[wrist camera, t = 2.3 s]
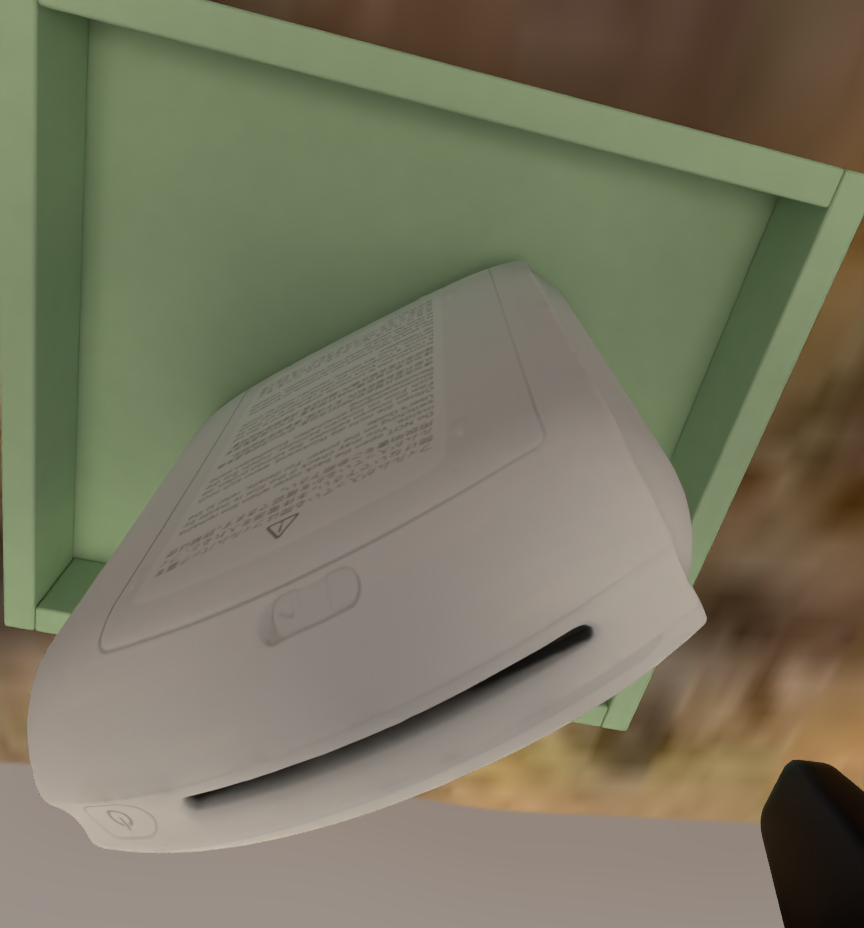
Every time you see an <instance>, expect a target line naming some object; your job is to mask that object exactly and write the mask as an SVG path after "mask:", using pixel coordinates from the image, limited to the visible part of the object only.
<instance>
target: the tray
mask: <svg viewBox="0 0 864 928" xmlns="http://www.w3.org/2000/svg"><path fill="white" fill-rule="evenodd" d="M863 215H864V174H863V173H859V172H856V171H852V170H848V169H842V168H841V167H837V166H833V165H829V164H825V163H822V162H818V161H814V160H810V159H807V158H803V157H799V156H795V155H791V154H788V153H784V152H780V151H776V150H772V149H769V148H765V147H761V146H757V145H754V144H750V143H746V142H742V141H738V140H735V139H731V138H727V137H723V136H719V135H716V134H712V133H708V132H704V131H701V130H697V129H693V128H689V127H685V126H682V125H678V124H674V123H670V122H667V121H663V120H659V119H655V118H651V117H648V116H644V115H640V114H636V113H632V112H629V111H625V110H621V109H617V108H614V107H610V106H606V105H602V104H598V103H595V102H591V101H587V100H583V99H579V98H576V97H572V96H568V95H564V94H561V93H557V92H553V91H549V90H545V89H542V88H538V87H534V86H530V85H526V84H523V83H519V82H515V81H511V80H508V79H504V78H500V77H496V76H492V75H489V74H485V73H481V72H477V71H473V70H470V69H466V68H462V67H458V66H455V65H451V64H447V63H443V62H439V61H436V60H432V59H428V58H424V57H420V56H417V55H413V54H409V53H405V52H402V51H398V50H394V49H390V48H386V47H383V46H379V45H375V44H371V43H368V42H364V41H360V40H356V39H352V38H349V37H345V36H341V35H337V34H333V33H330V32H326V31H322V30H318V29H315V28H311V27H307V26H303V25H299V24H296V23H292V22H288V21H284V20H280V19H277V18H273V17H269V16H265V15H262V14H258V13H254V12H250V11H246V10H243V9H239V8H235V7H231V6H227V5H224V4H220V3H216V2H212V1H209V0H0V392H1V451H2V509H3V567H4V624H5V625H6V626H10V627H16V628H22V629H28V630H34V629H36V630H37V631H40V632H46V633H52V634H58V632H59V631H60V629H61V628H62V627H63V625H64V624H65V622H66V621H67V620H68V618H69V617H70V615H71V614H72V612H73V611H74V609H75V608H76V606H77V605H78V604H79V602H80V601H81V600H82V598H83V597H84V595H85V594H86V592H87V591H88V589H89V588H90V586H91V585H92V583H93V582H94V580H95V579H96V578H97V576H98V575H99V573H100V572H101V570H102V569H103V567H104V566H105V564H106V563H107V562H108V560H109V559H110V557H111V556H112V554H113V553H114V552H115V550H116V549H117V548H118V546H119V545H120V543H121V542H122V540H123V539H124V537H125V536H126V535H127V533H128V532H129V530H130V529H131V527H132V526H133V524H134V523H135V521H136V520H137V518H138V517H139V515H140V514H141V512H142V511H143V510H144V508H145V507H146V505H147V504H148V502H149V501H150V499H151V498H152V496H153V495H154V493H155V492H156V491H157V489H158V488H159V486H160V485H161V483H162V482H163V481H164V479H165V478H166V476H167V475H168V473H169V472H170V470H171V469H172V467H173V466H174V464H175V463H176V462H177V460H178V459H179V457H180V456H181V454H182V453H183V451H184V450H185V448H186V447H187V445H188V444H189V442H190V441H191V439H192V438H193V436H194V435H195V433H196V432H197V430H198V429H199V428H200V426H201V425H202V424H203V423H204V422H205V421H206V420H207V419H208V418H210V417H211V416H212V415H213V414H214V413H215V412H216V411H218V410H219V409H220V408H222V407H223V406H224V405H226V404H227V403H228V402H229V401H231V400H232V399H234V398H235V397H237V396H238V395H240V394H241V393H243V392H244V391H246V390H248V389H249V388H251V387H253V386H255V385H256V384H258V383H260V382H261V381H263V380H265V379H267V378H268V377H270V376H272V375H274V374H275V373H277V372H279V371H281V370H283V369H284V368H286V367H288V366H290V365H292V364H294V363H296V362H298V361H300V360H301V359H303V358H305V357H307V356H308V355H310V354H312V353H314V352H316V351H318V350H320V349H322V348H324V347H326V346H328V345H330V344H332V343H334V342H335V341H337V340H339V339H341V338H343V337H345V336H347V335H349V334H351V333H353V332H355V331H357V330H359V329H361V328H363V327H365V326H367V325H369V324H371V323H372V322H374V321H376V320H378V319H380V318H382V317H384V316H386V315H388V314H390V313H392V312H394V311H396V310H398V309H400V308H402V307H404V306H406V305H408V304H410V303H412V302H414V301H416V300H418V299H419V298H421V297H422V296H425V295H428V294H431V293H433V292H434V291H436V290H438V289H441V288H443V287H445V286H447V285H449V284H451V283H453V282H456V281H458V280H460V279H462V278H465V277H467V276H469V275H472V274H474V273H477V272H480V271H482V270H485V269H488V268H491V267H494V266H497V265H501V264H505V263H508V262H512V261H516V260H525V261H526V262H527V263H528V265H529V267H530V269H531V271H532V272H533V273H535V274H537V275H539V276H541V277H543V278H544V279H546V280H547V281H548V282H550V283H551V284H552V285H553V286H554V287H555V288H556V289H557V290H558V291H559V292H560V293H561V294H562V296H563V297H564V298H565V300H566V301H567V303H568V304H569V306H570V307H571V309H572V310H573V312H574V313H575V315H576V317H577V318H578V320H579V321H580V323H581V324H582V326H583V327H584V329H585V330H586V332H587V334H588V335H589V337H590V338H591V340H592V341H593V343H594V344H595V346H596V348H597V349H598V351H599V352H600V354H601V355H602V357H603V358H604V360H605V362H606V363H607V365H608V366H609V368H610V369H611V371H612V372H613V374H614V376H615V377H616V379H617V380H618V382H619V383H620V385H621V387H622V388H623V389H624V391H625V392H626V394H627V395H628V397H629V399H630V400H631V402H632V404H633V405H634V407H635V408H636V410H637V411H638V413H639V414H640V416H641V417H642V419H643V420H644V422H645V424H646V425H647V427H648V428H649V430H650V431H651V433H652V434H653V436H654V437H655V439H656V440H657V442H658V444H659V445H660V447H661V448H662V450H663V451H664V453H665V454H666V456H667V457H668V459H669V461H670V463H671V464H672V466H673V468H674V470H675V472H676V474H677V476H678V478H679V481H680V483H681V485H682V488H683V490H684V492H685V496H686V500H687V504H688V508H689V513H690V519H691V525H692V560H691V565H690V571H689V576H688V579H689V581H690V583H691V585H692V587H693V585H694V582H695V580H696V578H697V576H698V574H699V572H700V569H701V567H702V565H703V563H704V561H705V559H706V556H707V554H708V552H709V550H710V548H711V546H712V543H713V541H714V539H715V537H716V535H717V532H718V530H719V528H720V526H721V524H722V522H723V519H724V517H725V515H726V513H727V511H728V509H729V506H730V504H731V502H732V500H733V498H734V496H735V493H736V491H737V489H738V487H739V485H740V483H741V480H742V478H743V476H744V474H745V472H746V469H747V467H748V465H749V463H750V461H751V459H752V456H753V454H754V452H755V450H756V448H757V446H758V443H759V441H760V439H761V437H762V435H763V433H764V430H765V428H766V426H767V424H768V422H769V419H770V417H771V415H772V413H773V411H774V409H775V406H776V404H777V402H778V400H779V398H780V396H781V393H782V391H783V389H784V387H785V385H786V383H787V380H788V378H789V376H790V374H791V372H792V370H793V367H794V365H795V363H796V361H797V359H798V356H799V354H800V352H801V350H802V348H803V346H804V343H805V341H806V339H807V337H808V335H809V333H810V330H811V328H812V326H813V324H814V322H815V320H816V317H817V315H818V313H819V311H820V309H821V306H822V304H823V302H824V300H825V298H826V296H827V293H828V291H829V289H830V287H831V285H832V283H833V280H834V278H835V276H836V274H837V272H838V270H839V267H840V265H841V263H842V261H843V259H844V257H845V254H846V252H847V250H848V248H849V246H850V243H851V241H852V239H853V237H854V235H855V233H856V230H857V228H858V226H859V224H860V222H861V220H862V217H863ZM655 667H656V666H655ZM655 667H654V668H653V669H651V670H650V671H648V672H647V673H646V674H644V675H643V676H642V677H640V678H639V679H638V680H636V681H635V682H633V683H632V684H631V685H629V686H628V687H626V688H625V689H624V690H622V691H621V692H619V693H618V694H616V695H615V696H613V697H611V698H610V699H608V700H607V701H605V702H603V703H602V704H600V705H598V706H597V707H595V708H594V709H592V710H590V711H589V712H587V713H585V714H584V715H582V716H580V717H579V718H577V719H575V720H573V721H572V722H575V723H581V724H587V725H593V726H600V725H601V726H602V727H603V728H609V729H615V730H621V731H626V730H627V728H628V726H629V724H630V722H631V719H632V717H633V715H634V713H635V711H636V709H637V706H638V704H639V702H640V700H641V698H642V695H643V693H644V691H645V689H646V687H647V685H648V682H649V680H650V678H651V676H652V674H653V672H654V669H655Z"/></svg>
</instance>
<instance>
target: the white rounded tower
mask: <svg viewBox="0 0 864 928" xmlns="http://www.w3.org/2000/svg"><path fill="white" fill-rule="evenodd" d="M691 560H692V525H691V519H690V513H689V508H688V504H687V500H686V496H685V492H684V490H683V488H682V485H681V483H680V481H679V478H678V476H677V474H676V472H675V470H674V468H673V466H672V464H671V463H670V461H669V459H668V457H667V456H666V454H665V453H664V451H663V450H662V448H661V447H660V445H659V444H658V442H657V440H656V439H655V437H654V436H653V434H652V433H651V431H650V430H649V428H648V427H647V425H646V424H645V422H644V420H643V419H642V417H641V416H640V414H639V413H638V411H637V410H636V408H635V407H634V405H633V404H632V402H631V400H630V399H629V397H628V395H627V394H626V392H625V391H624V389H623V388H622V387H621V385H620V383H619V382H618V380H617V379H616V377H615V376H614V374H613V372H612V371H611V369H610V368H609V366H608V365H607V363H606V362H605V360H604V358H603V357H602V355H601V354H600V352H599V351H598V349H597V348H596V346H595V344H594V343H593V341H592V340H591V338H590V337H589V335H588V334H587V332H586V330H585V329H584V327H583V326H582V324H581V323H580V321H579V320H578V318H577V317H576V315H575V313H574V312H573V310H572V309H571V307H570V306H569V304H568V303H567V301H566V300H565V298H564V297H563V296H562V294H561V293H560V292H559V291H558V290H557V289H556V288H555V287H554V286H553V285H552V284H551V283H550V282H548V281H547V280H546V279H544V278H543V277H541V276H539V275H537V274H535V273H533V272H532V271H531V269H530V267H529V265H528V263H527V262H526V261H525V260H516V261H512V262H508V263H505V264H501V265H497V266H494V267H491V268H488V269H485V270H482V271H480V272H477V273H474V274H472V275H469V276H467V277H465V278H462V279H460V280H458V281H456V282H453V283H451V284H449V285H447V286H445V287H443V288H441V289H438V290H436V291H434V292H433V293H431V294H428V295H425V296H422V297H421V298H419V299H418V300H416V301H414V302H412V303H410V304H408V305H406V306H404V307H402V308H400V309H398V310H396V311H394V312H392V313H390V314H388V315H386V316H384V317H382V318H380V319H378V320H376V321H374V322H372V323H371V324H369V325H367V326H365V327H363V328H361V329H359V330H357V331H355V332H353V333H351V334H349V335H347V336H345V337H343V338H341V339H339V340H337V341H335V342H334V343H332V344H330V345H328V346H326V347H324V348H322V349H320V350H318V351H316V352H314V353H312V354H310V355H308V356H307V357H305V358H303V359H301V360H300V361H298V362H296V363H294V364H292V365H290V366H288V367H286V368H284V369H283V370H281V371H279V372H277V373H275V374H274V375H272V376H270V377H268V378H267V379H265V380H263V381H261V382H260V383H258V384H256V385H255V386H253V387H251V388H249V389H248V390H246V391H244V392H243V393H241V394H240V395H238V396H237V397H235V398H234V399H232V400H231V401H229V402H228V403H227V404H226V405H224V406H223V407H222V408H220V409H219V410H218V411H216V412H215V413H214V414H213V415H212V416H211V417H210V418H208V419H207V420H206V421H205V422H204V423H203V424H202V425H201V426H200V428H199V429H198V430H197V432H196V433H195V435H194V436H193V438H192V439H191V441H190V442H189V444H188V445H187V447H186V448H185V450H184V451H183V453H182V454H181V456H180V457H179V459H178V460H177V462H176V463H175V464H174V466H173V467H172V469H171V470H170V472H169V473H168V475H167V476H166V478H165V479H164V481H163V482H162V483H161V485H160V486H159V488H158V489H157V491H156V492H155V493H154V495H153V496H152V498H151V499H150V501H149V502H148V504H147V505H146V507H145V508H144V510H143V511H142V512H141V514H140V515H139V517H138V518H137V520H136V521H135V523H134V524H133V526H132V527H131V529H130V530H129V532H128V533H127V535H126V536H125V537H124V539H123V540H122V542H121V543H120V545H119V546H118V548H117V549H116V550H115V552H114V553H113V554H112V556H111V557H110V559H109V560H108V562H107V563H106V564H105V566H104V567H103V569H102V570H101V572H100V573H99V575H98V576H97V578H96V579H95V580H94V582H93V583H92V585H91V586H90V588H89V589H88V591H87V592H86V594H85V595H84V597H83V598H82V600H81V601H80V602H79V604H78V605H77V606H76V608H75V609H74V611H73V612H72V614H71V615H70V617H69V618H68V620H67V621H66V622H65V624H64V625H63V627H62V628H61V629H60V631H59V632H58V634H57V635H56V637H55V638H54V640H53V641H52V643H51V644H50V646H49V647H48V649H47V650H46V652H45V654H44V656H43V658H42V660H41V662H40V664H39V666H38V668H37V671H36V675H35V678H34V682H33V686H32V689H31V696H30V703H29V711H28V719H27V735H28V750H29V758H30V763H31V767H32V772H33V777H34V781H35V784H36V787H37V789H38V792H39V794H40V795H41V796H42V798H43V799H44V800H45V801H46V803H47V804H50V805H52V806H55V807H58V808H60V809H61V810H63V811H65V812H67V813H69V814H71V815H72V816H73V817H74V818H75V819H76V820H77V821H78V822H79V823H80V825H81V826H82V827H83V829H84V830H85V832H86V834H87V835H88V837H89V839H90V841H91V843H93V844H95V845H97V846H98V847H100V848H105V849H114V850H122V851H130V852H148V853H177V852H198V851H206V850H214V849H223V848H231V847H239V846H244V845H249V844H254V843H259V842H264V841H269V840H274V839H279V838H283V837H287V836H291V835H295V834H299V833H303V832H307V831H311V830H315V829H319V828H322V827H326V826H330V825H334V824H337V823H340V822H343V821H346V820H350V819H353V818H356V817H359V816H362V815H365V814H368V813H371V812H374V811H377V810H380V809H382V808H385V807H388V806H390V805H393V804H396V803H399V802H401V801H404V800H406V799H409V798H412V797H414V796H417V795H419V794H422V793H424V792H427V791H430V790H432V789H435V788H437V787H440V786H442V785H445V784H447V783H449V782H451V781H453V780H455V779H457V778H460V777H462V776H464V775H466V774H469V773H471V772H473V771H475V770H478V769H480V768H482V767H484V766H487V765H489V764H491V763H494V762H496V761H498V760H500V759H502V758H504V757H506V756H508V755H510V754H512V753H514V752H516V751H518V750H520V749H522V748H524V747H526V746H528V745H530V744H532V743H534V742H536V741H537V740H539V739H541V738H543V737H545V736H547V735H549V734H551V733H552V732H554V731H556V730H558V729H559V728H561V727H563V726H565V725H566V724H568V723H570V722H572V721H573V720H575V719H577V718H579V717H580V716H582V715H584V714H585V713H587V712H589V711H590V710H592V709H594V708H595V707H597V706H598V705H600V704H602V703H603V702H605V701H607V700H608V699H610V698H611V697H613V696H615V695H616V694H618V693H619V692H621V691H622V690H624V689H625V688H626V687H628V686H629V685H631V684H632V683H633V682H635V681H636V680H638V679H639V678H640V677H642V676H643V675H644V674H646V673H647V672H648V671H650V670H651V669H653V668H654V667H655V666H657V665H658V664H659V663H661V662H662V661H663V660H664V659H665V658H666V657H668V656H669V655H670V654H671V653H672V652H674V651H675V650H676V649H677V648H678V647H680V646H681V645H682V644H683V643H684V642H686V641H687V640H688V639H689V638H690V637H691V636H692V635H694V634H695V633H696V632H697V631H698V630H699V629H700V628H701V627H702V626H703V625H704V624H705V623H706V620H707V617H706V614H705V611H704V609H703V606H702V604H701V602H700V599H699V598H698V596H697V594H696V592H695V591H694V589H693V587H692V585H691V583H690V581H689V579H688V576H689V571H690V565H691Z"/></svg>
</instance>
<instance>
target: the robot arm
mask: <svg viewBox="0 0 864 928" xmlns="http://www.w3.org/2000/svg"><path fill="white" fill-rule="evenodd" d="M761 832H762V837H763V842H764V846H765V850H766V854H767V858H768V862H769V866H770V870H771V874H772V878H773V882H774V886H775V890H776V894H777V898H778V902H779V907H780V911H781V915H782V919H783V923H784V927H785V928H864V791H862V790H861V789H860V788H859V787H858V786H856V785H855V784H854V783H853V782H851V781H850V780H849V779H848V778H847V777H845V776H844V775H843V774H842V773H841V772H839V771H838V770H837V769H836V768H834V767H833V766H831V765H829V764H825V763H820V762H812V761H804V760H792V761H791V762H789V763H788V764H787V765H786V766H785V767H784V769H783V771H782V773H781V775H780V777H779V779H778V780H777V782H776V784H775V786H774V788H773V790H772V792H771V794H770V796H769V798H768V800H767V802H766V804H765V806H764V808H763V810H762V815H761Z"/></svg>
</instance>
